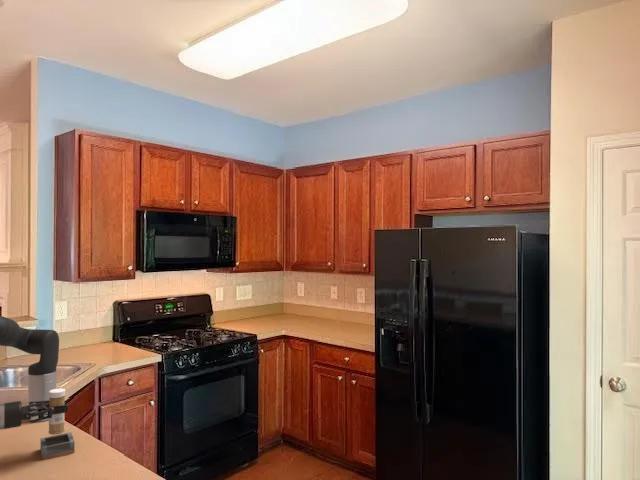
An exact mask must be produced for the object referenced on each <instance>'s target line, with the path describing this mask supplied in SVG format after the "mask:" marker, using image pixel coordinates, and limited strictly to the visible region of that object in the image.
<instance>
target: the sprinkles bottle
mask: <svg viewBox="0 0 640 480" xmlns="http://www.w3.org/2000/svg"><path fill="white" fill-rule="evenodd" d="M65 397H66V389H65V388H56V389H53V390H50V391H49V407H56V406H62V405H64V401H65ZM65 415H66V413H60V414H54V415H53V416H52V418H49V420H48V426H49V427H48V434H49V435H51V436H55V435H60V434H64V432H65V420H66V419H65Z"/></svg>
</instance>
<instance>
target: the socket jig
mask: <svg viewBox="0 0 640 480" xmlns="http://www.w3.org/2000/svg"><path fill="white" fill-rule="evenodd" d="M39 441H40V446H39V447H40V454H41V455H40V456H41V460H47V459H52V458H57V457H61V456H66V455H71V454H74V453H76V452H75V450H76V449H75V439H74V436H73V433H72V432H67V433H66V432H65V433H60V434H56V435H51V436H46V437H42V438H40V440H39Z"/></svg>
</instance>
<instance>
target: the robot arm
mask: <svg viewBox="0 0 640 480" xmlns="http://www.w3.org/2000/svg"><path fill="white" fill-rule="evenodd" d="M0 346H2V347H11V348H15V349H17V350H19V351H21V352H23V353H28V354H30V355H39V361H38V362H35V363H32V364H30V365H29V366H28V370H27V376H28V377H27V379H28V380H27V385H28V386H27V388H28V389H27V394H28V395H27V401H28V402H27V403H28V404H27V405H24V406H22V401H21V400H17V401H10V402H4V403H0V431H2V430H9V429H13V428H14V429H15V428H20V427H21V426H22V421H25V420H26V421H29V422H30V423H32V424H33V423H37V422H38V423H39V422H45V421H49V418H52V416H53V415H54V414H60V413H65V414H66V413H68V411H69V408H68V404H67V401H66V400H64V405H62V406H56V407H49V391H50V390H53V389H57V365H58V363H59V353H60V352H59V351H60V350H59V349H60V337H59V334H58V331H56V330H54V329H37V328H36V329H31V328H25V327H20V325H19V324H18V322H16V321H15V320H13V319H11V318H8V317H5V316H2V315H0Z"/></svg>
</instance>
